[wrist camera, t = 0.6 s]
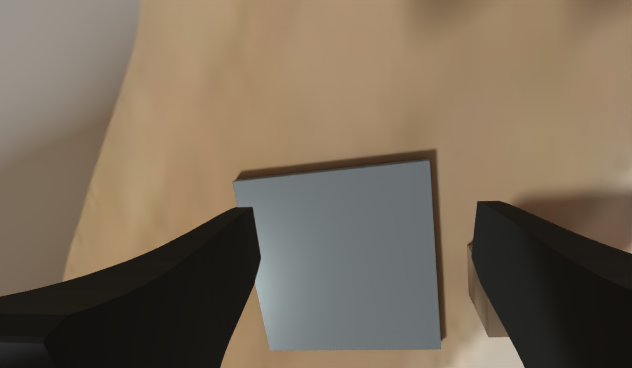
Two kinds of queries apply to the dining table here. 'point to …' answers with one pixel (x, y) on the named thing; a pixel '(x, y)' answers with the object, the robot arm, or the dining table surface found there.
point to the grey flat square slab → (346, 257)
